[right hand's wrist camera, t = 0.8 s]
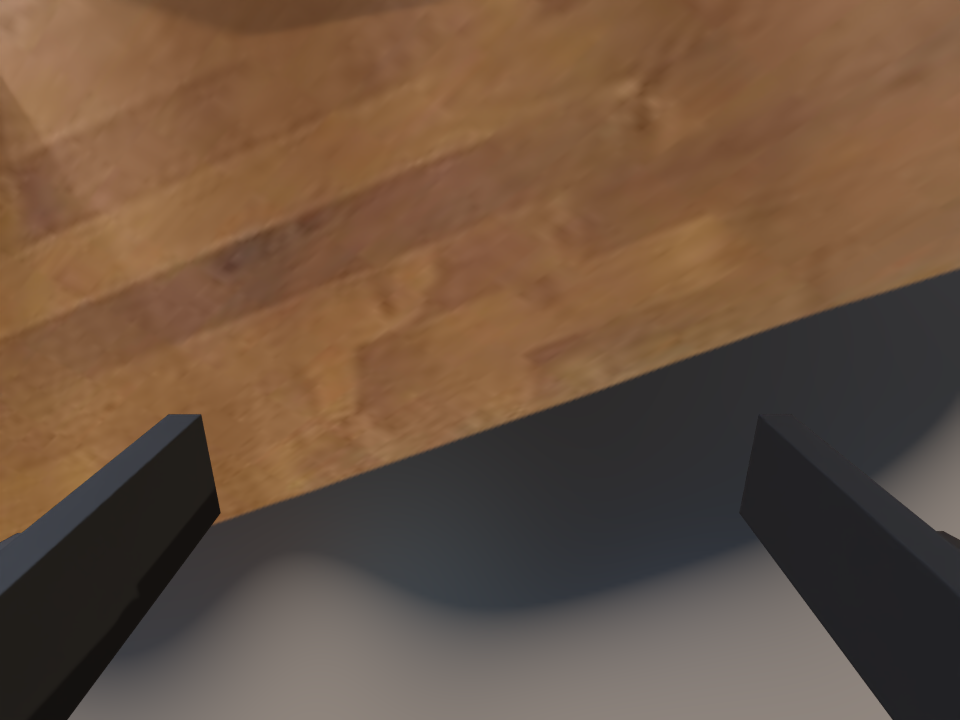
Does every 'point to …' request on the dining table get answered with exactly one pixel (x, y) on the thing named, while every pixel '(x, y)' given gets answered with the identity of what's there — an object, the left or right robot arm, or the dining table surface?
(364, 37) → the dining table surface
